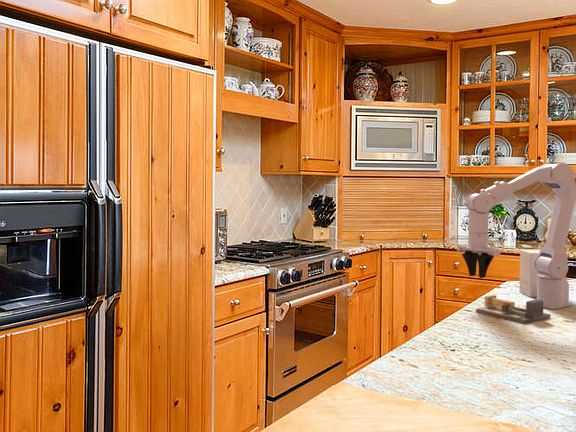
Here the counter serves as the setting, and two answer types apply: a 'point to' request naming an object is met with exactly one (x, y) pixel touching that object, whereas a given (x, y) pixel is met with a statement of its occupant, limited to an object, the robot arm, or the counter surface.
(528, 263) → the supplement box
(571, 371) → the counter surface
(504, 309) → the orange and grey block
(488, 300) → the wooden u-shaped cradle
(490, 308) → the gauge base
